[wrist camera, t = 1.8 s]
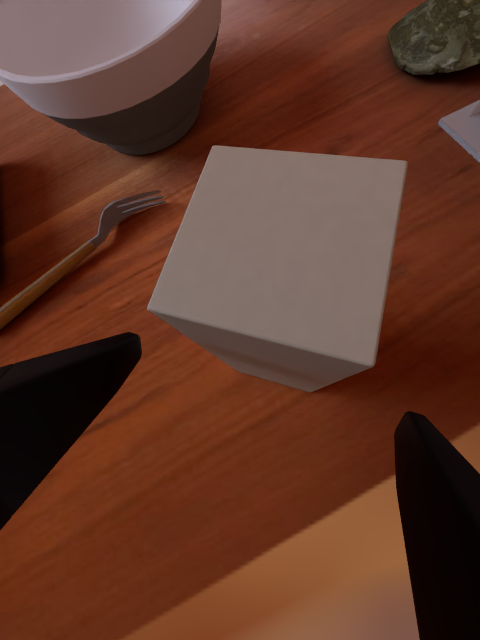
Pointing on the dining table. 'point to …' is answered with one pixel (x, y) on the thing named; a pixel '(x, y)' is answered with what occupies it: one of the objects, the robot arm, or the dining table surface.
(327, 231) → the white rectangular block
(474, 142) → the car cutout
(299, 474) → the dining table surface
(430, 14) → the seashell
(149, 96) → the bowl
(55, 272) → the fork
